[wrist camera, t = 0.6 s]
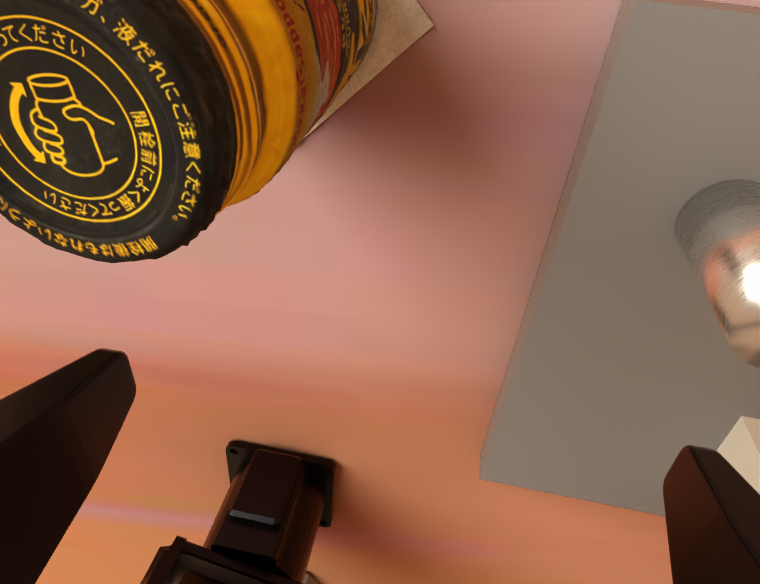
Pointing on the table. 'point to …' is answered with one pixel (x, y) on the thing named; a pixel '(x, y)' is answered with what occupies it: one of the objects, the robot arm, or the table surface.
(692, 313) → the base plate
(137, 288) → the table surface
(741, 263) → the post
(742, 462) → the cream colored cube
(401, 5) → the condiment
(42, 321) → the table surface
